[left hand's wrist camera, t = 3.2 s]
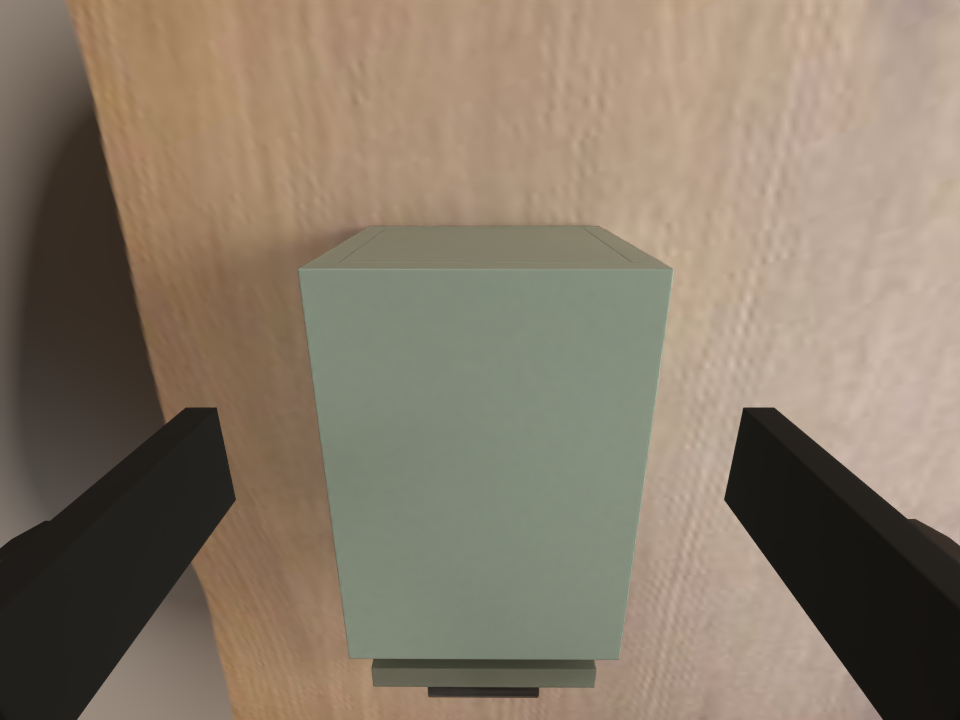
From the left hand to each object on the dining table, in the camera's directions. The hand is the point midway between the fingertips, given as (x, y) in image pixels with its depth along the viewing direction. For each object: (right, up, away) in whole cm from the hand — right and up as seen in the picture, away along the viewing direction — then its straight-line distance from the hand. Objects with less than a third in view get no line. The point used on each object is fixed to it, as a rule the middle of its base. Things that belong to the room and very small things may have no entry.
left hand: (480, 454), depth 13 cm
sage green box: (0, +1, +15) cm, 15 cm away
